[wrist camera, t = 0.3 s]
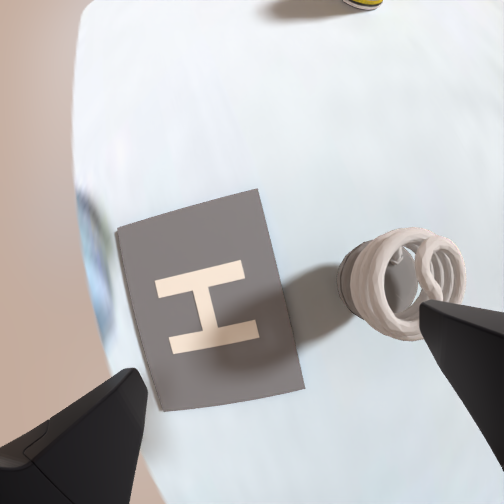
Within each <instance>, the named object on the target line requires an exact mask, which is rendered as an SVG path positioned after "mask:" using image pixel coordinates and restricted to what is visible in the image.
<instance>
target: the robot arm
mask: <svg viewBox="0 0 504 504" xmlns="http://www.w3.org/2000/svg"><path fill="white" fill-rule="evenodd" d="M419 329H420V332H421V334H422V336H423V338H424V340H425V342H426V343H427V345H428V347H429V349H430V351H431V353H432V355H433V356H434V358H435V360H436V362H437V364H438V366H439V367H440V369H441V371H442V372H443V374H444V375H445V376H446V378H447V379H448V381H449V382H450V384H451V385H452V387H453V388H454V390H455V391H456V393H457V394H458V396H459V397H460V399H461V400H462V402H463V404H464V405H465V407H466V408H467V410H468V411H469V413H470V415H471V416H472V418H473V419H474V421H475V423H476V424H477V426H478V427H479V429H480V431H481V432H482V434H483V436H484V437H485V439H486V441H487V442H488V444H489V446H490V448H491V449H492V451H493V453H494V455H495V456H496V458H497V460H498V462H499V463H500V465H501V467H502V469H503V471H504V313H503V312H498V311H492V310H487V309H481V308H476V307H471V306H465V305H460V304H455V303H449V302H444V301H439V300H433V299H430V300H427V301H424V302H422V303H421V304H420V306H419ZM147 397H148V391H147V387H146V385H145V383H144V381H143V379H142V377H141V376H140V374H139V372H138V370H137V369H136V368H126V369H123V370H121V371H120V372H119V373H117V374H116V375H114V376H113V377H111V378H110V379H108V380H107V381H105V382H104V383H102V384H101V385H99V386H98V387H96V388H95V389H93V390H92V391H90V392H89V393H87V394H86V395H85V396H83V397H81V398H80V399H78V400H77V401H76V402H74V403H72V404H71V405H69V406H68V407H66V408H65V409H63V410H62V411H60V412H59V413H57V414H56V415H54V416H53V417H51V418H50V420H47V421H45V422H44V423H42V424H40V425H39V426H37V427H36V428H34V429H32V430H31V431H29V432H27V433H26V434H24V435H22V436H21V437H19V438H17V439H15V440H13V441H12V442H10V443H8V444H6V445H4V446H2V447H0V504H129V502H130V496H131V491H132V486H133V481H134V475H135V470H136V465H137V460H138V456H139V451H140V446H141V442H142V437H143V432H144V424H145V414H146V405H147Z"/></svg>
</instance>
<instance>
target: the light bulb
mask: <svg viewBox="0 0 504 504" xmlns="http://www.w3.org/2000/svg"><path fill="white" fill-rule="evenodd" d="M403 246H404V247H407V248H409V249H410V250H412V251H413V252H414V253H415V254H416V255H415V261H414V259H413V258H412V256H411V254H410V253H409V252H408V251H407V250H406V249H405V248H404V247H403ZM418 282H419V284H420V286H421V288H422V290H421V292H420V295H419V297H418V298H417V299H416V301H415V302H414V303H413V305H411V304H412V302H413V300H414V298H415V295H416V293H417V288H418ZM337 286H338V292H339V295H340V297H341V299H342V301H343V303H344V304H345V305H346V306H347V307H348V309H349V310H350V311H351V312H352V313H354V314H355V315H357V316H358V317H360V318H361V319H363V320H365V321H366V322H367V323H368V324H369V325H370V326H371V327H373V328H374V329H375V330H377V331H378V332H380V333H382V334H384V335H387V336H390V337H392V338H395V339H398V340H403V341H416V340H421V339H424V338H423V336H422V334H421V332H420V329H419V306H420V304H421V303H422V302H424V301H427V300H430V299H433V300H439V301H444V302H449V303H455V304H460V305H461V303H462V300H463V297H464V293H465V288H466V269H465V263H464V260H463V257H462V254H461V252H460V250H459V249H458V247H457V246H456V245H455V243H453V242H452V241H451V240H450V239H448V238H445V237H442V236H438V235H436V234H435V233H433V232H432V231H429V230H427V229H423V228H416V227H410V228H399V229H396V230H392V231H390V232H387V233H385V234H383V235H380V236H378V237H377V238H375V239H374V240H370V241H367V242H363V243H362V244H360V245H359V246H357V247H356V248H354V249H353V250H352V251H351V252H349V253H348V254H347V255H346V256H345V258H344V259H343V261H342V263H341V264H340V266H339V270H338V274H337ZM410 305H411V306H410Z"/></svg>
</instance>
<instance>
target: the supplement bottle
mask: <svg viewBox="0 0 504 504" xmlns="http://www.w3.org/2000/svg"><path fill="white" fill-rule="evenodd" d="M343 1H344V2H346V3H347V4H349V5H351V6H353V7H356V8H360V9H366V10H371V9H376V8H378V7H379V6H380V5H381V4H382V2H383V0H343Z"/></svg>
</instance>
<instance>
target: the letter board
mask: <svg viewBox="0 0 504 504" xmlns="http://www.w3.org/2000/svg"><path fill="white" fill-rule="evenodd" d="M117 230H118V236H119V242H120V248H121V253H122V259H123V264H124V269H125V274H126V279H127V283H128V288H129V292H130V297H131V301H132V306H133V310H134V314H135V318H136V322H137V326H138V330H139V333H140V337H141V341H142V344H143V348H144V352H145V355H146V358H147V362H148V365H149V369H150V372H151V375H152V378H153V381H154V385H155V388H156V391H157V394H158V397H159V400H160V403H161V405H162V408H163V411H164V412H166V411H177V410H187V409H195V408H203V407H211V406H218V405H225V404H231V403H237V402H243V401H249V400H255V399H260V398H265V397H270V396H275V395H280V394H284V393H289V392H293V391H298V390H302V389H305V385H304V381H303V376H302V372H301V367H300V363H299V358H298V354H297V350H296V345H295V341H294V336H293V332H292V328H291V324H290V319H289V315H288V311H287V306H286V302H285V298H284V294H283V290H282V285H281V281H280V277H279V273H278V269H277V265H276V261H275V256H274V252H273V248H272V244H271V240H270V236H269V232H268V228H267V224H266V220H265V216H264V212H263V208H262V204H261V200H260V196H259V192H258V189H253V190H249V191H245V192H241V193H237V194H234V195H230V196H226V197H222V198H218V199H215V200H211V201H207V202H203V203H200V204H196V205H193V206H189V207H185V208H182V209H178V210H175V211H171V212H168V213H165V214H161V215H158V216H154V217H151V218H148V219H145V220H141V221H138V222H135V223H132V224H128V225H125V226H122V227H119V228H117Z"/></svg>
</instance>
